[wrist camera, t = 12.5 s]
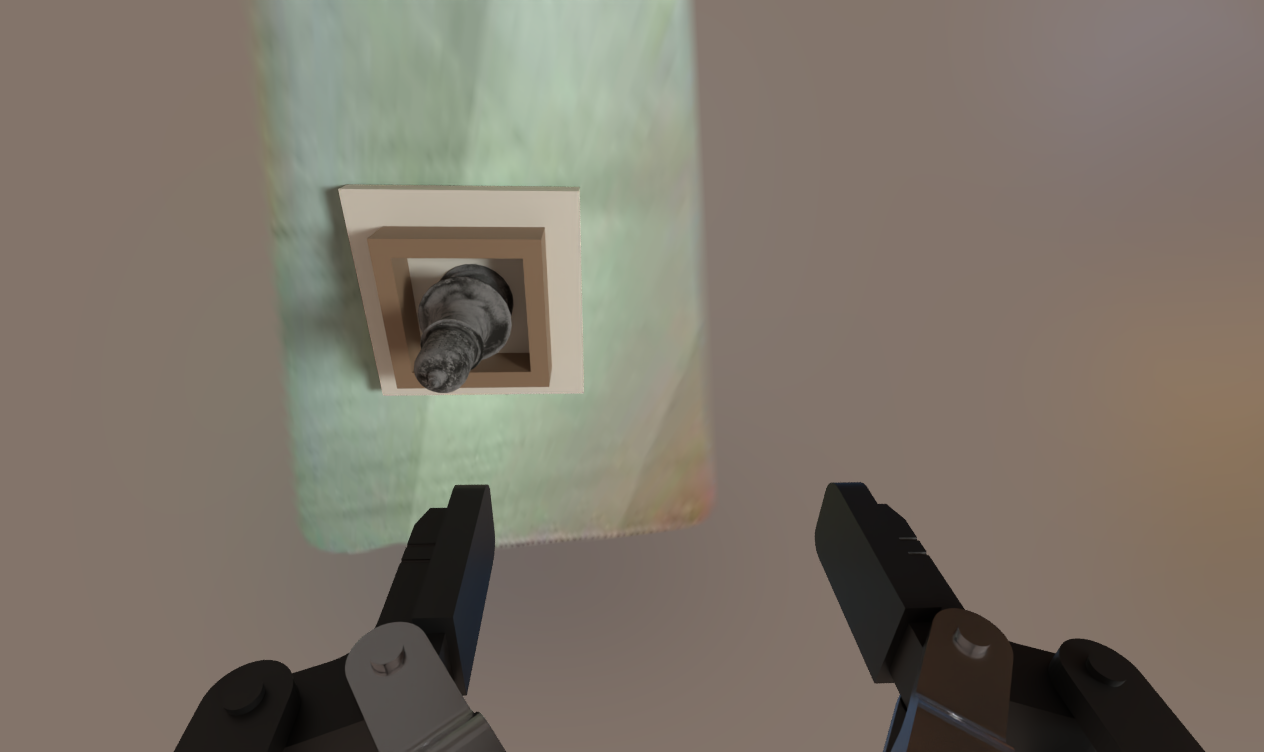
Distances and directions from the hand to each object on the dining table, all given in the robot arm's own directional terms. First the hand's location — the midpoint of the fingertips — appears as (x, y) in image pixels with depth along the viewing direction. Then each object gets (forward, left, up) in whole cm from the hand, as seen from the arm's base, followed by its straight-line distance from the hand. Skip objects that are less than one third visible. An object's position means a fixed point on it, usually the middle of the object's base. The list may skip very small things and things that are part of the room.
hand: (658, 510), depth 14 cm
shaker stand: (+5, -10, -29) cm, 31 cm away
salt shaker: (+5, -10, -28) cm, 30 cm away
